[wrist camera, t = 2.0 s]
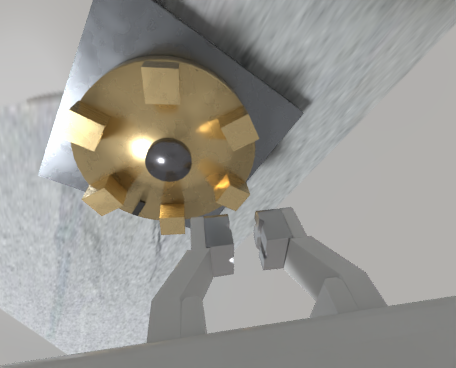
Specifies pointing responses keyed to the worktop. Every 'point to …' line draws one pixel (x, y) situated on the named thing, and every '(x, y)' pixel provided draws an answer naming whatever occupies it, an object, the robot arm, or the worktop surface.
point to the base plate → (150, 46)
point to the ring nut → (162, 141)
